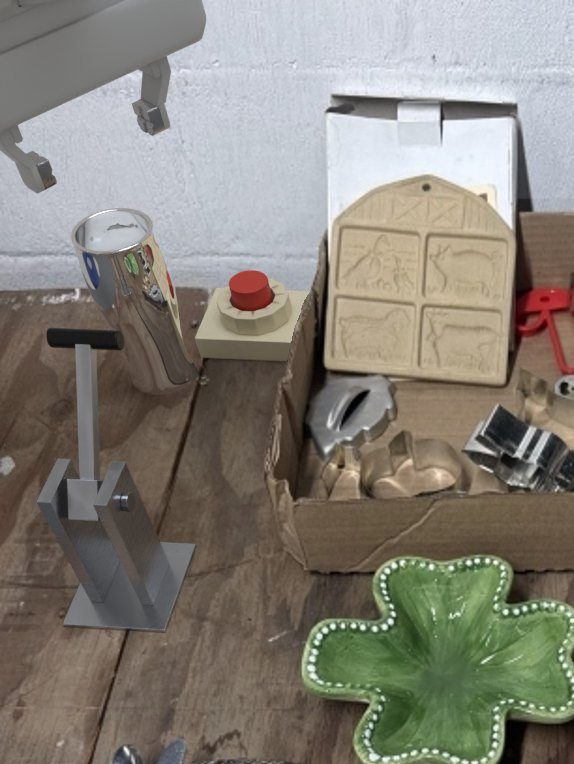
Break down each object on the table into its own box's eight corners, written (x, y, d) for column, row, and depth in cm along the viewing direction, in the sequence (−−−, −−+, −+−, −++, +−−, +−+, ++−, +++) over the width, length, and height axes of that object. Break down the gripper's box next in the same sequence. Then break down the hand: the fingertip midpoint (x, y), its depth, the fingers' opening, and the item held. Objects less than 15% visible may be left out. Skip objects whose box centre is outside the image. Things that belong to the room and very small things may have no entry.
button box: (200, 358, 101) (188, 321, 98) (221, 307, 106) (210, 270, 103) (304, 362, 101) (295, 325, 98) (321, 311, 105) (313, 274, 102)
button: (229, 311, 99) (224, 292, 98) (239, 288, 101) (233, 269, 100) (267, 313, 99) (262, 293, 98) (276, 290, 101) (271, 270, 100)
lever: (58, 330, 76) (41, 324, 73) (128, 333, 75) (112, 327, 73) (65, 518, 78) (48, 518, 76) (132, 521, 78) (117, 521, 75)
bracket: (104, 548, 87) (47, 435, 78) (199, 553, 87) (155, 440, 77) (67, 634, 82) (2, 524, 73) (169, 639, 82) (117, 530, 72)
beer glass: (190, 409, 97) (136, 257, 85) (117, 402, 98) (53, 250, 85) (215, 361, 101) (167, 209, 89) (145, 355, 102) (88, 203, 89)
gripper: (129, -148, 67) (190, 85, 78) (-175, -40, 58) (-56, 204, 70) (193, -124, 65) (247, 112, 76) (-114, -8, 56) (-1, 239, 67)
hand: (100, 157), depth 73 cm, fingers open, 8 cm apart
